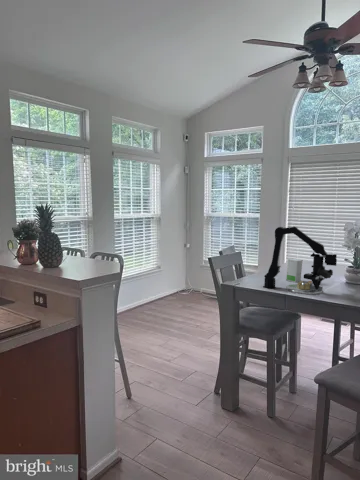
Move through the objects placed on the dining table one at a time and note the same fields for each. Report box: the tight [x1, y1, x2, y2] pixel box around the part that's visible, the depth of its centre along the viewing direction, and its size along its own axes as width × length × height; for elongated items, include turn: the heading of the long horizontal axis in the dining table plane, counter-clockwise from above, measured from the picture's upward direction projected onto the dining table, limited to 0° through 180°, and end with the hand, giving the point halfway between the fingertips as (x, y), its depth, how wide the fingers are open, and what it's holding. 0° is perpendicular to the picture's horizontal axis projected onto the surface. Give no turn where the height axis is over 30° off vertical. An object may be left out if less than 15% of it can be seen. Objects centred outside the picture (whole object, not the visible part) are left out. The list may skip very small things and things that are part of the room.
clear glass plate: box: [285, 280, 323, 295], centre depth 224 cm, size 22×22×4 cm
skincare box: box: [285, 258, 303, 283], centre depth 250 cm, size 8×7×16 cm
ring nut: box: [297, 280, 323, 292], centre depth 222 cm, size 15×8×4 cm, turn 54°
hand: (316, 289), depth 217 cm, fingers closed
